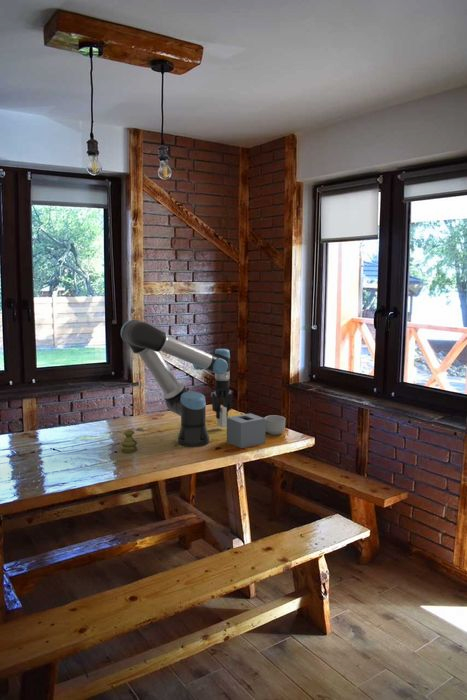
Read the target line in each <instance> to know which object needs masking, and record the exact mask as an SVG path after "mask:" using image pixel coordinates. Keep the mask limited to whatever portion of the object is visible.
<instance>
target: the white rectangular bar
mask: <svg viewBox="0 0 467 700" xmlns="http://www.w3.org/2000/svg"><path fill="white" fill-rule="evenodd" d="M220 412H221V425H218V424H217V423H216V425H217V427H220V428H227V408H226V407H223V405H221V408H220Z"/></svg>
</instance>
